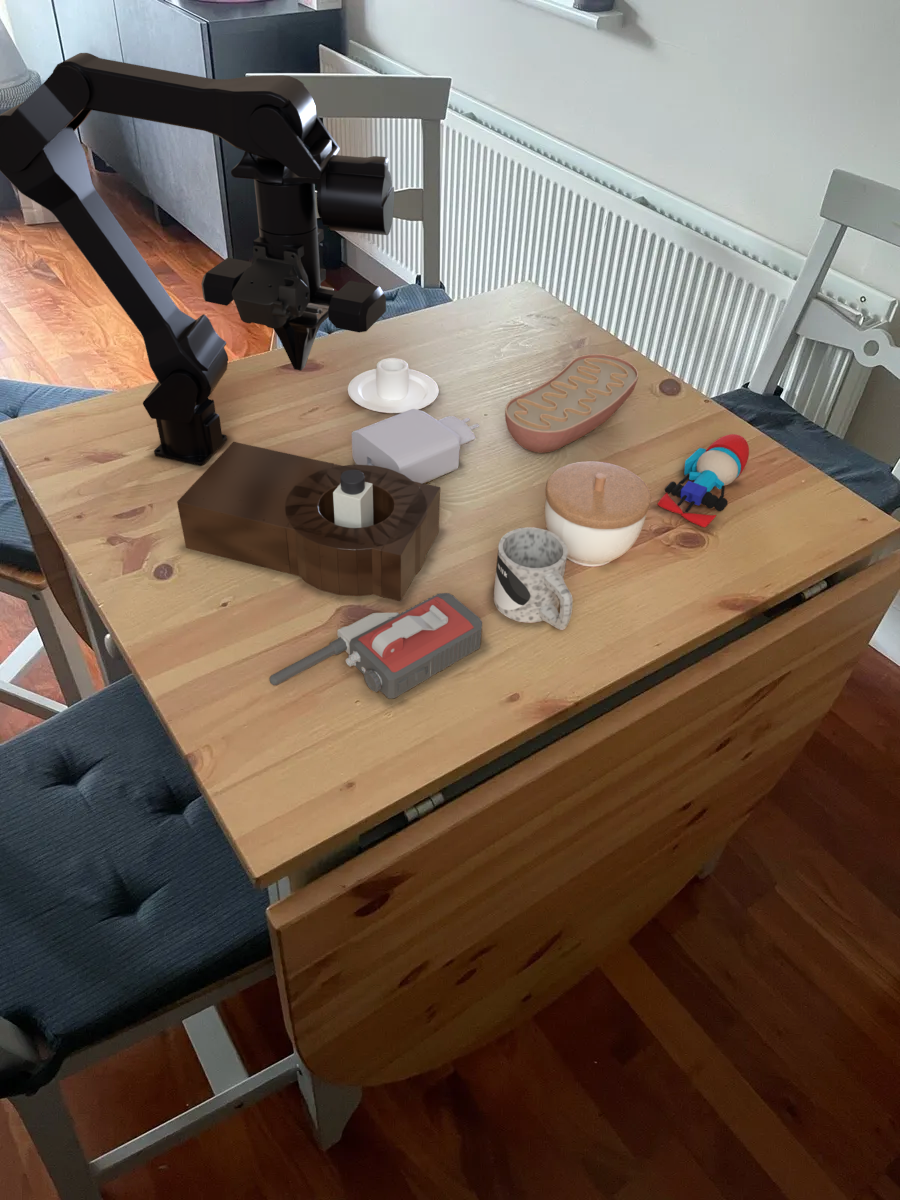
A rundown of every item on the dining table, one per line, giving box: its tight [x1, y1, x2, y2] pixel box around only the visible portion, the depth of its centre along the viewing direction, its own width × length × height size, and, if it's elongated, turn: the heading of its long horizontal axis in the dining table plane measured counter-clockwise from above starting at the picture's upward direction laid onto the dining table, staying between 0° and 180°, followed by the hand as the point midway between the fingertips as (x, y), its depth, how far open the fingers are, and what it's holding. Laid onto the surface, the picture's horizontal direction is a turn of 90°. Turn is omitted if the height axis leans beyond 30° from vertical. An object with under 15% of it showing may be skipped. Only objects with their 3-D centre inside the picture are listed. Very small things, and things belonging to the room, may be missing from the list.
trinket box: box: [544, 460, 652, 568], centre depth 95 cm, size 11×11×9 cm
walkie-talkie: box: [268, 592, 483, 699], centre depth 83 cm, size 9×4×20 cm
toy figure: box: [657, 433, 750, 528], centre depth 106 cm, size 8×5×15 cm
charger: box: [351, 409, 480, 484], centre depth 109 cm, size 5×9×15 cm
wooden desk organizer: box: [176, 441, 441, 602], centre depth 96 cm, size 24×14×6 cm, turn 72°
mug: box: [493, 526, 574, 631], centre depth 89 cm, size 10×7×7 cm
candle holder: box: [347, 357, 440, 414], centre depth 120 cm, size 12×12×4 cm
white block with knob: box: [333, 470, 373, 528], centre depth 94 cm, size 9×3×3 cm
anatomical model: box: [504, 353, 639, 454], centre depth 115 cm, size 23×10×5 cm, turn 142°
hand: (299, 368), depth 101 cm, fingers closed
